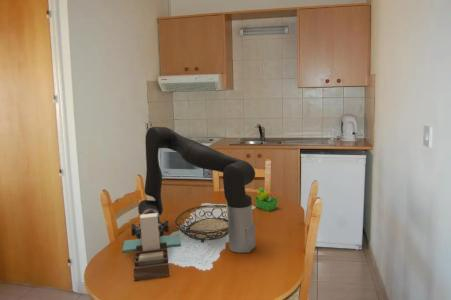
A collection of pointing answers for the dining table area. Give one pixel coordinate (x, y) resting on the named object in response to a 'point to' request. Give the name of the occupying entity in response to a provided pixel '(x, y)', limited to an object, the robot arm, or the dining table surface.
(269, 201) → the fruit basket
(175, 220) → the dining table surface
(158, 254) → the offcut mid
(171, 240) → the board
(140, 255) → the offcut short
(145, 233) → the beige tall block
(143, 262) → the offcut tall
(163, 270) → the rack
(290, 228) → the dining table surface
